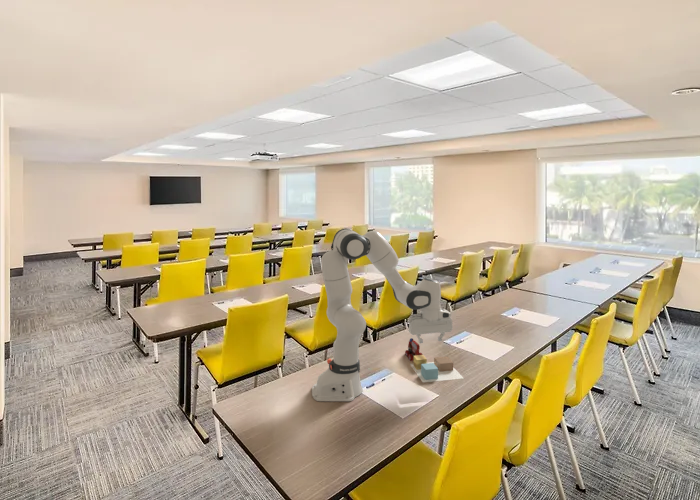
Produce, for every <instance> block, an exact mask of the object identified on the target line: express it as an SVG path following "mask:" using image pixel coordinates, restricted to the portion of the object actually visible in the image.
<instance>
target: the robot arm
mask: <svg viewBox="0 0 700 500" xmlns="http://www.w3.org/2000/svg"><path fill="white" fill-rule="evenodd" d="M330 248H331V250H328V251H326V252H325V253H323V254H322V257H321V261H320V262H321V263H320V264H321V273H322V278H323V281H324V282H323V283H324V288H325V292H326V297H327V298H326V299H327V308H326V316H327V319H328V321H329V322H330V323H331V324H332V325H333V326H334V327H335V328H336V331H337V332H336V333H337V334H336V338H335V340H334V342H333V345H332V348H333V349H332V351H333V352H332V353H333V355H332V356H333V359H332V358H328V359H326V362H327V364H328V368H327V369H326V370H325V371H323V372H322V373H320V374H319V375H318V378H317V380H316V383H314V384H313V385H312V388H311V395H312V398H313V399H314V400H315V401H317V402H352V401H353V400H354V399H355V398H356V397H359V396H360V395H361V394H362V393H363V391H364V390H363V386H362V383H361V378H360V370H361V363H360V359H359V346H360V345H359V343H360V339H361V335H362V334H363V333H364V332H365V331H366V327H367V322H366V319H365V317H364V316H363V314H362V312H360V311H358V310H357V309H356V308H354V307H353V305H352V301H351V299H352V297H351V296H352V294H353V286H352V280H351V277H350V273H349V268H348V267H349V266H348V262H349V260H358V259H361V258H362V257H365V256H366V258H367V259H368V260H369V261H370V263H371V264H372V266H374V268H375V269H376V270H377V271H378V272H380V273H381V274H382V275H383V276H384V278H385V279H386V281H387V282H388V283H389V285H390V286H391V288H392V292H393V296H394V298H395V300H396V301H397V302H398V303H400V304H403V305H404V306H405V307H407V308H408V309H411V310H415V311H417V310H418V311H419V310H420V313H417V314H416V313H414V314H411V315H410V316H409V317H408V332H409V334H410V335H411V336H416V337H417V339H418V344H423V343H424V339H423V338H422V337H421V335H426V334H440V335H439V336H437V341H438V342H443V338H444V336H445V335H446V334H445V333H450V332H452V330H454V329H453V319H452V313H451V312H450V311H449V310H447V309H445V308H442V305H441V299H442V290H441V289H442V288H441V283H440V282H439V281H438V280H437V279H435V278H430V277H425V278H422V280H421V281H420V282H419V283H416V284H415V285H413V284H411V283H410V282H408V281H406V280H404V279H403V277H402V275H401V274H400V272H399V271H398V270H397V268H396V267H397V265H398V264H399V257H398V254H397V252H396V251H395V249H394V248H393V247H392V245H391V244H390V242H389V241H388V240H387V239H386V238H385V237H384V236H383V235H382V234H381V233H380V232H379V231H377V230H370V231H367V232H366V233H365V234H363V235H362V234H359V233H358V232H357V231H355V230H352V229H350V228H341V229H339V230H338V231H336V233H335V234H334V236H333V239H332V242H331V246H330Z"/></svg>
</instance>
